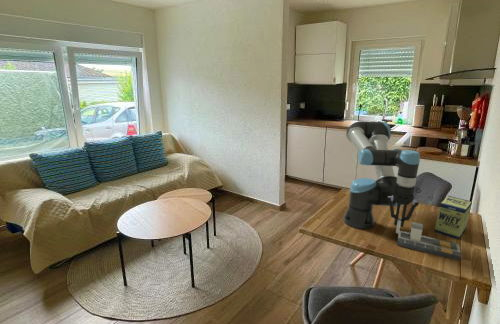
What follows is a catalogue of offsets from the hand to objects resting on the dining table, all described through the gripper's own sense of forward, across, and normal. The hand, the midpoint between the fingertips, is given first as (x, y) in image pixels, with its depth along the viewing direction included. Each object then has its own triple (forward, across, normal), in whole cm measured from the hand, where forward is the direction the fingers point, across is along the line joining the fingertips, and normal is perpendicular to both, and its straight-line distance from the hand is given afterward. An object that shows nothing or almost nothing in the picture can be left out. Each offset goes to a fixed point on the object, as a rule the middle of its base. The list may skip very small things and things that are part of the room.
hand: (397, 232), depth 139 cm
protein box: (+4, +23, +23) cm, 33 cm away
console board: (+4, +12, 0) cm, 13 cm away
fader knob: (+1, +7, 0) cm, 8 cm away
